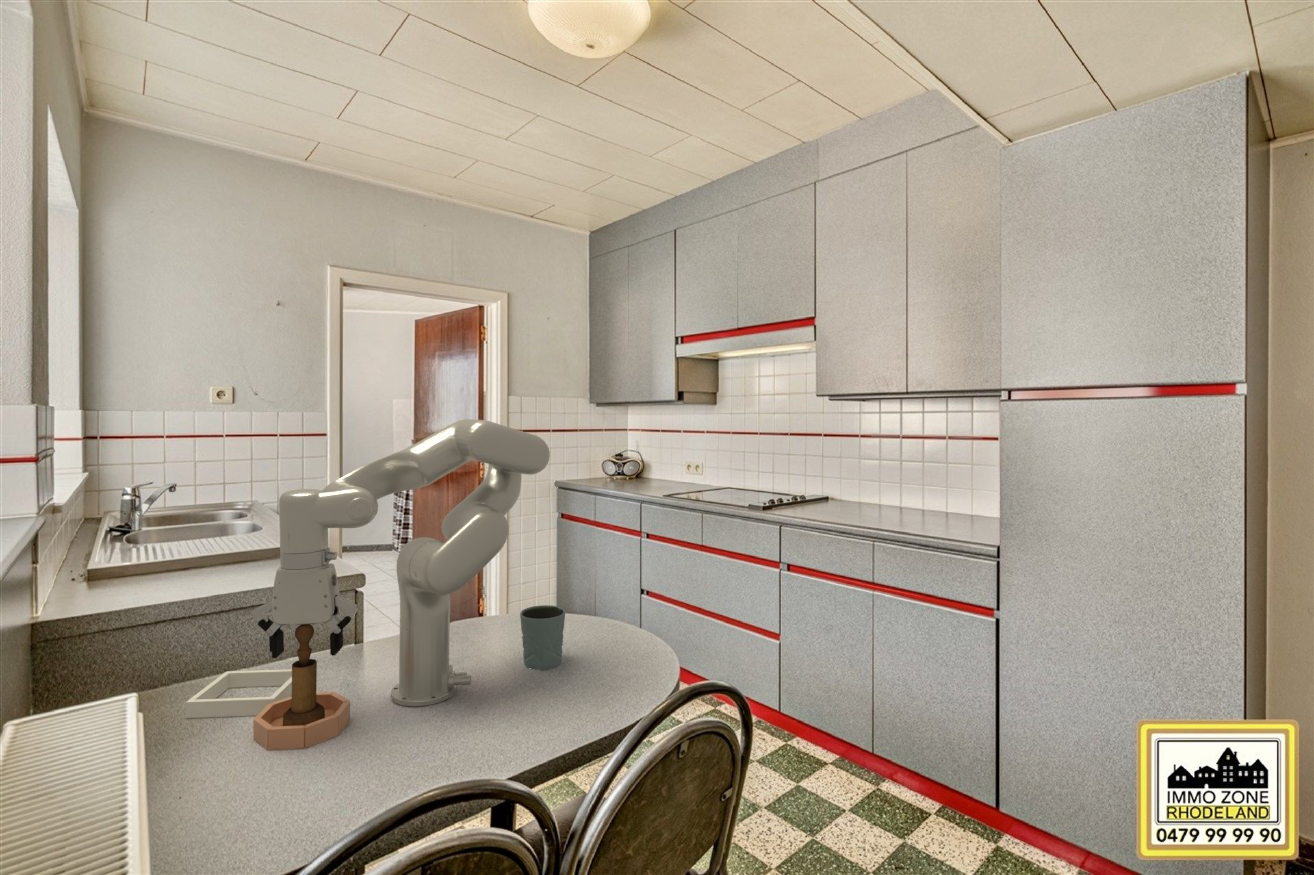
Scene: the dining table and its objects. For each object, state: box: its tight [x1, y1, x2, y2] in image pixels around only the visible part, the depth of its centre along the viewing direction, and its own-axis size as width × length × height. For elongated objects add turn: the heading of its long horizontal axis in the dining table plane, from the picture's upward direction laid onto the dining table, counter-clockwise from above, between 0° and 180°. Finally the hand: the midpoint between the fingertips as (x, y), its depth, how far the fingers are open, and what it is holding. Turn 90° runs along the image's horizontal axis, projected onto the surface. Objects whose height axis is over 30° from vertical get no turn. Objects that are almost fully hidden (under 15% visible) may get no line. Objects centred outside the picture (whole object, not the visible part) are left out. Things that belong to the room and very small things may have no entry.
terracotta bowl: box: [252, 691, 351, 751], centre depth 114 cm, size 14×14×4 cm
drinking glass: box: [519, 604, 566, 671], centre depth 146 cm, size 10×10×12 cm
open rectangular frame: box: [185, 668, 292, 719], centre depth 124 cm, size 15×14×3 cm
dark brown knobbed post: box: [283, 624, 325, 726], centre depth 113 cm, size 7×6×18 cm
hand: (307, 654), depth 113 cm, fingers open, 9 cm apart
